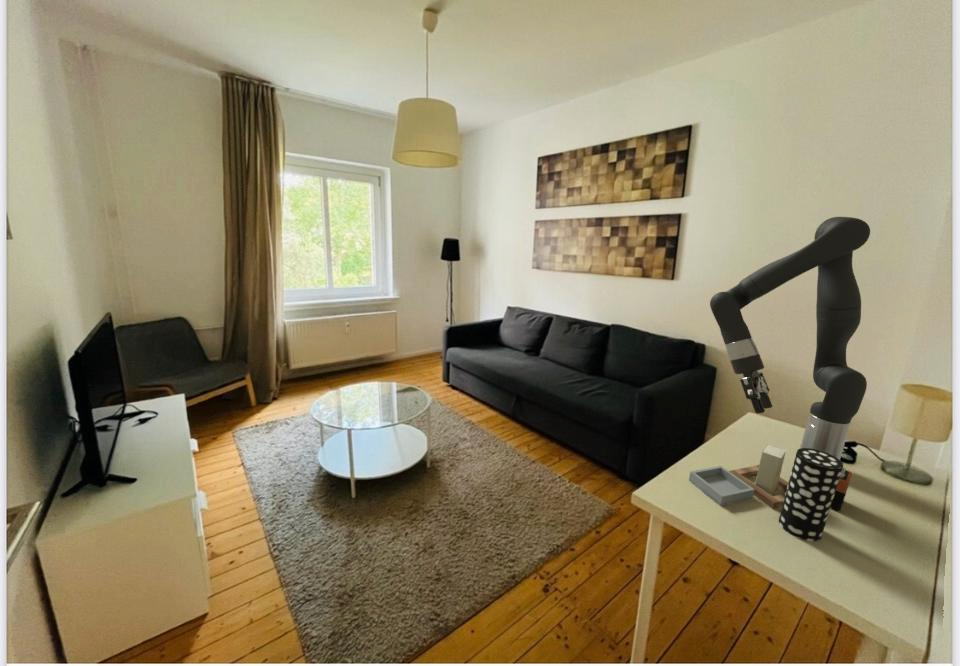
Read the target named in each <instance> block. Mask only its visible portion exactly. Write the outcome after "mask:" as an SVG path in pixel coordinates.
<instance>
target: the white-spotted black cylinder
mask: <svg viewBox="0 0 960 666" xmlns="http://www.w3.org/2000/svg"><path fill="white" fill-rule="evenodd" d="M843 468H844V463H843V461H841V459H840V460H839V459H838V458H836V457H835V456H833V455H831V454H829V453H826V452H823V451H820V450H817V449H811V448H800V447H799V448H798V449H797V450H796V453H795V457H794V461H793V465H792V469H791V472H790V476H789V478H788V482H789V483H788V486H787V490H786V492H785V493H784V494H785V498H784V501H783V505H782V507H781V509H780V510H781V511H780V512H779V517H778V523H779V526H780V527H782V529H783V530H784V531H785V532H787V533H788V534H790V535H791V536H793V537H795V538H798V539H801V540H804V541H807V542H819V541H820V540H822V537H823V534H824V529H825V527H826V524H827V520H828V517H829V515H830V511H831V509H832V508H831V504H832V501H833V498H834V495H835V491H836V488H837V485H838V482H839V478H840V475H841V472H842V469H843Z"/></svg>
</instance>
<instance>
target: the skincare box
mask: <svg viewBox="0 0 960 666" xmlns="http://www.w3.org/2000/svg"><path fill="white" fill-rule="evenodd" d="M786 452H787V450H786V449H784V448H780V447H777V446H774V445H771V444H767V445H766V446H765V447H764V448H763V450H762V452H761V456H760V460H759V464H758V465H759V469H758V473H757V476H756V478H755V483H754V484H755V485H757V486H758V487H760V488H761V489H763V490H764V491H766V492H767V493H769V494H770V495H772V496H774V494H775V492H776V490H777V489H778V487H777V486H778V482H779V478H780V477H781V472H782V468H783V464H784V461H785V456H786Z"/></svg>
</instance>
